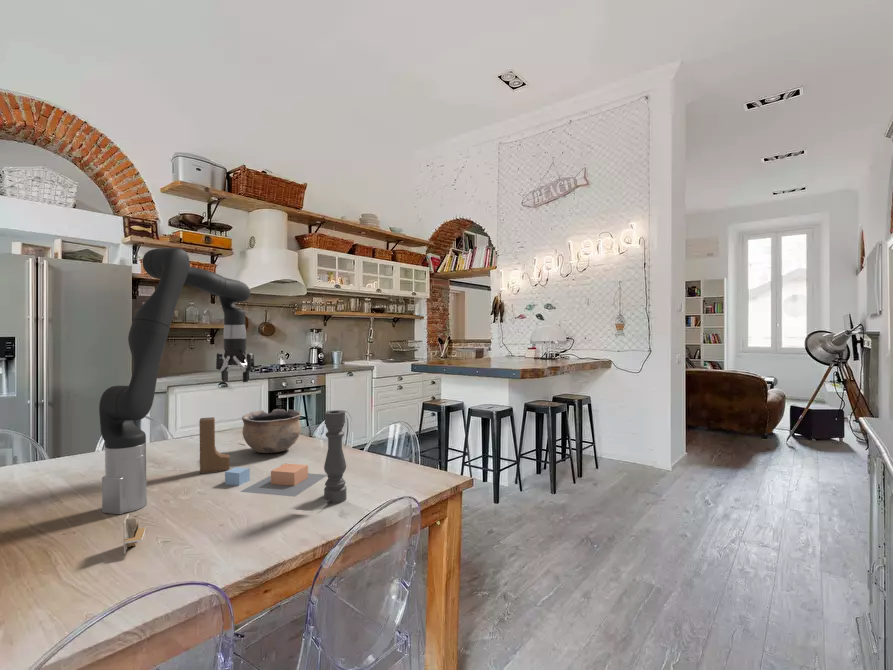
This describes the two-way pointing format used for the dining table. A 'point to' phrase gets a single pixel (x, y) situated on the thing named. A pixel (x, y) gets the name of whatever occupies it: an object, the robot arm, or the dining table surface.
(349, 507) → the dining table surface
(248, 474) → the blue cube
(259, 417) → the ceramic bowl
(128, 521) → the architectural model
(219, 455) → the wooden block
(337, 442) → the candle holder
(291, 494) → the letter board
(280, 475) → the terracotta block
